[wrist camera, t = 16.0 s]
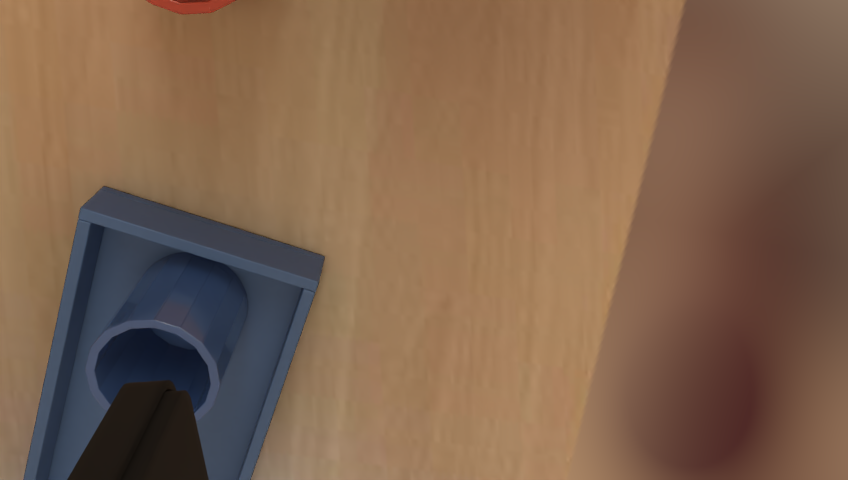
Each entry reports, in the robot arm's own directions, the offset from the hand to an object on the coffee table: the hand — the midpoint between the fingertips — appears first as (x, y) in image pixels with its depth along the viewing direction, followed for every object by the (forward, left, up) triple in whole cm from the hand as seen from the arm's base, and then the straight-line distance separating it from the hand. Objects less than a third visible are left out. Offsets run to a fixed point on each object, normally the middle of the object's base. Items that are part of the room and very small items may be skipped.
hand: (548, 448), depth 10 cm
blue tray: (+22, -8, -28) cm, 37 cm away
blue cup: (+16, -8, -28) cm, 33 cm away
